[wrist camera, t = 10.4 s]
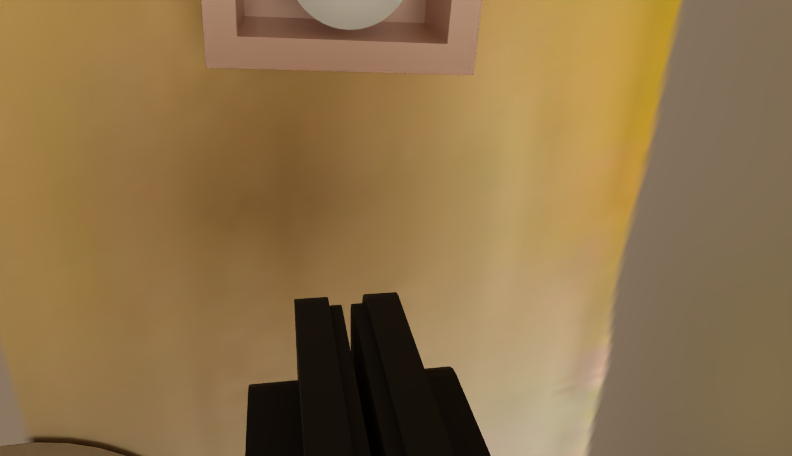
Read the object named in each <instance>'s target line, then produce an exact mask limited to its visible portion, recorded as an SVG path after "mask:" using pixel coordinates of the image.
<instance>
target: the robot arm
mask: <svg viewBox="0 0 792 456" xmlns="http://www.w3.org/2000/svg"><path fill="white" fill-rule="evenodd" d="M294 304H295V326H296V348H297V370H298V380H295V381H284V382H273V383H262V384H251V385H249V390H248V409H247V430H246V452H245V456H491V455H490V453H489V451H488V448H487V446H486V444H485V441H484V439H483V437H482V434H481V432H480V429H479V427H478V425H477V422H476V420H475V418H474V415H473V413H472V411H471V408H470V406H469V404H468V401H467V399H466V396H465V394H464V392H463V389H462V387H461V385H460V382H459V380H458V378H457V375H456V373H455V372H454V370H453V368H451V367H439V368H428V369H424V366H423V364H422V361H421V358H420V355H419V352H418V350H417V347H416V344H415V341H414V338H413V336H412V333H411V330H410V327H409V324H408V322H407V319H406V316H405V313H404V310H403V308H402V305H401V302H400V299H399V296H398V294H397V293H396V292H393V293H379V294H364V295H363V300H362V303H360V304H351V351H350V346H349V341H348V336H347V331H346V325H345V320H344V315H343V310H342V306H341V305H332V306H329V301H328V297H320V298H305V299H294ZM0 456H126V455H122V454H119V453H115V452H112V451H108V450H105V449H101V448H97V447H91V446H84V445H77V444H71V443H38V442H34V443H26V444H17V445H8V446H1V447H0Z"/></svg>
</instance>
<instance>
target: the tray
mask: <svg viewBox="0 0 792 456" xmlns="http://www.w3.org/2000/svg"><path fill="white" fill-rule="evenodd" d="M201 4H202V18H203V32H204V46H205V60H206V68H236V69H272V70H307V71H342V72H378V73H413V74H449V75H473V72H474V64H475V56H476V47H477V39H478V30H479V22H480V13H481V5H482V0H201Z"/></svg>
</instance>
